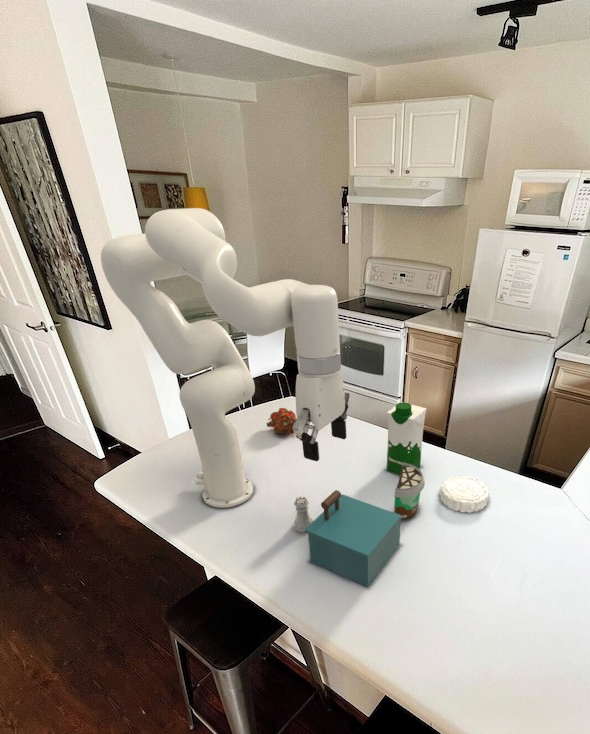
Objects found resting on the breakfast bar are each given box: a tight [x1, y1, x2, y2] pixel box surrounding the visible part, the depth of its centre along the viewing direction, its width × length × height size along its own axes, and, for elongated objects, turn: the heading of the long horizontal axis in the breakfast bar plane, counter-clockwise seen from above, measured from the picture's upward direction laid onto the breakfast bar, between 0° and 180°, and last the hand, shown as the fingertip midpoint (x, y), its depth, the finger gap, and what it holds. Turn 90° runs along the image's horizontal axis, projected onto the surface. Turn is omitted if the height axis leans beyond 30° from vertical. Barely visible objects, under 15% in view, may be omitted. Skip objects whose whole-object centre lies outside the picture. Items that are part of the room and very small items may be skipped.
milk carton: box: [386, 401, 427, 476], centre depth 119 cm, size 9×9×20 cm
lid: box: [304, 489, 401, 558], centre depth 91 cm, size 15×14×5 cm
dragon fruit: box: [266, 407, 297, 436], centre depth 140 cm, size 8×8×12 cm
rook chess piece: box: [293, 496, 314, 533], centre depth 101 cm, size 4×4×8 cm
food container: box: [394, 463, 426, 521], centre depth 106 cm, size 12×6×10 cm, turn 168°
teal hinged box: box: [307, 519, 402, 588], centre depth 94 cm, size 14×14×8 cm
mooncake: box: [439, 475, 490, 514], centre depth 112 cm, size 12×12×4 cm
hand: (326, 447), depth 87 cm, fingers open, 9 cm apart
